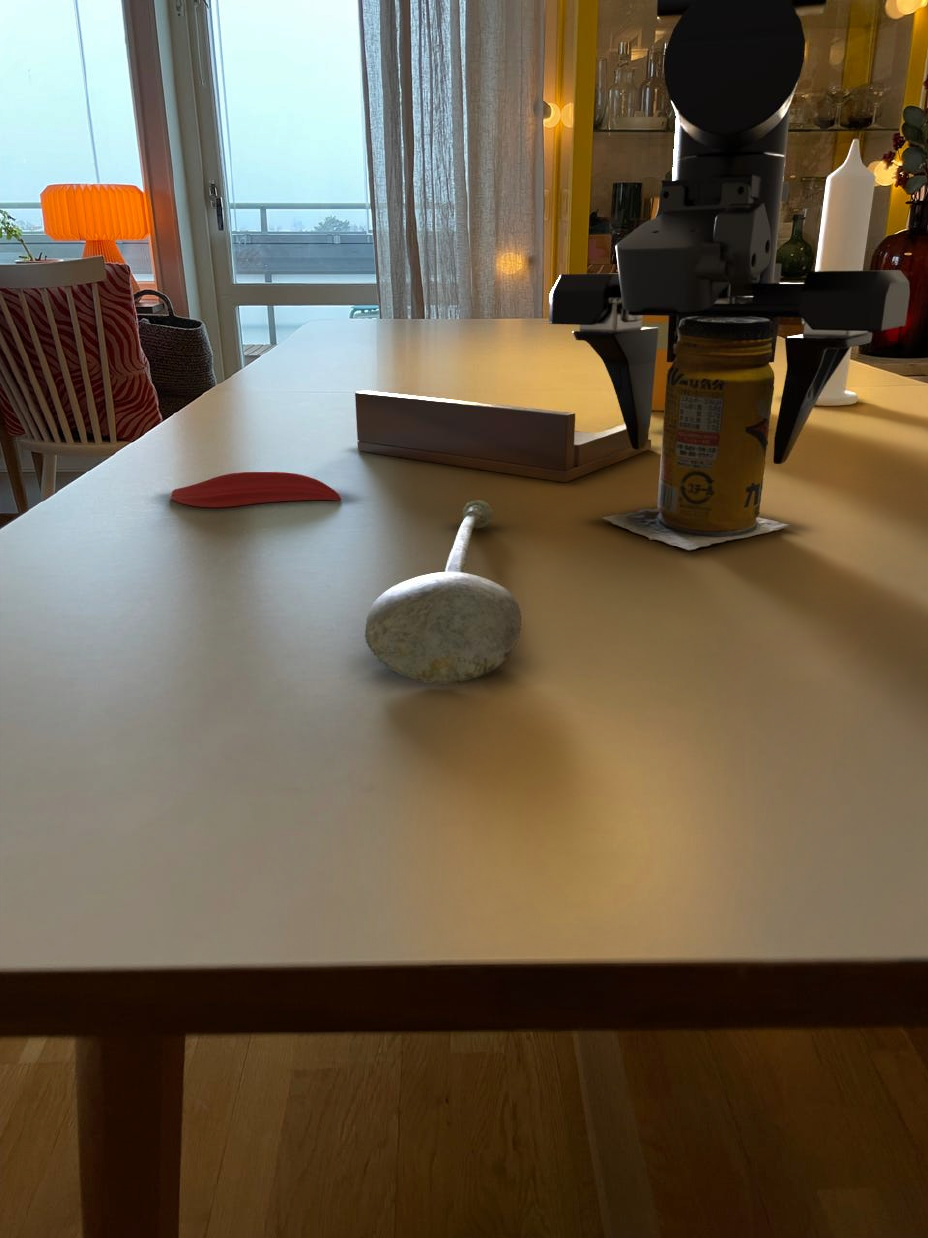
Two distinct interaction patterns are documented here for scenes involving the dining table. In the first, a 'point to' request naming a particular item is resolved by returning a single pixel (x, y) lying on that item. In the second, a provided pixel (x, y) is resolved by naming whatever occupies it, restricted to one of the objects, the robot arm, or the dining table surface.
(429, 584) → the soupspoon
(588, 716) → the dining table surface
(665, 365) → the orange juice
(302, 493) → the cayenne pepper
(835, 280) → the robot arm
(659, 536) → the condiment
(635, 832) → the dining table surface
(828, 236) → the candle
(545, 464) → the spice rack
